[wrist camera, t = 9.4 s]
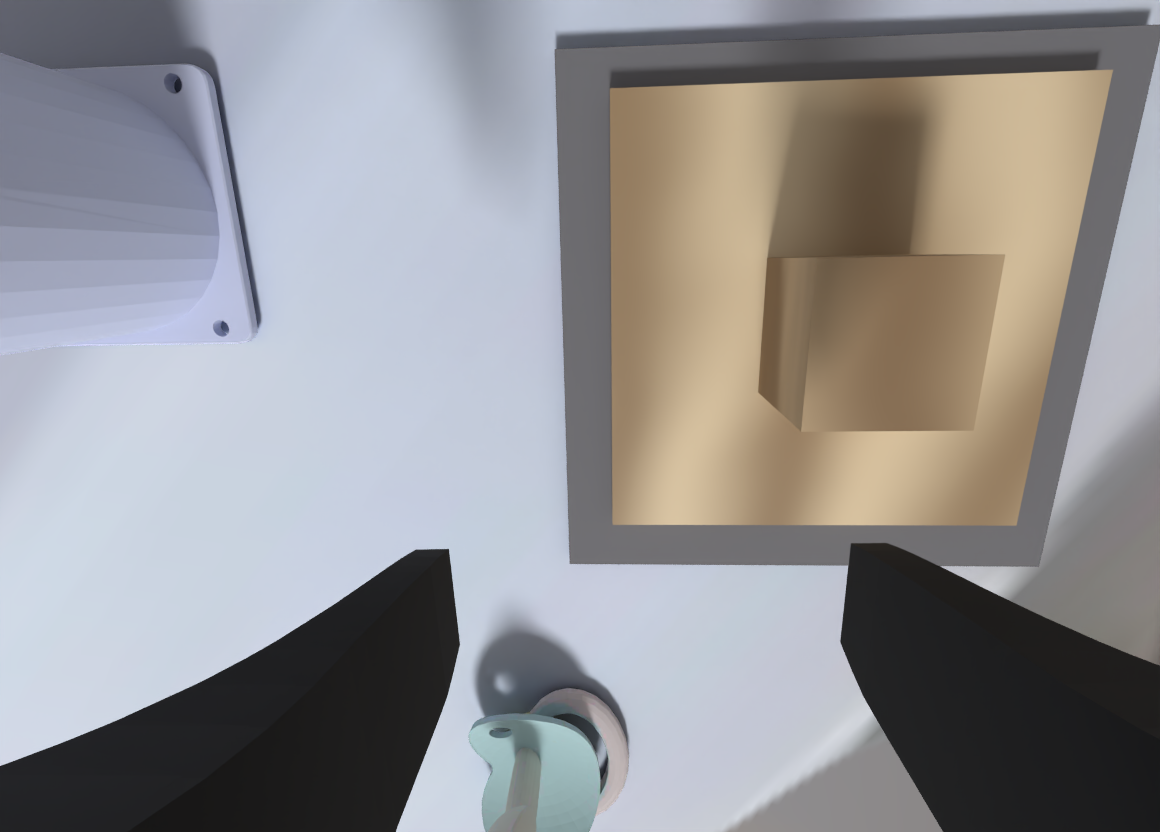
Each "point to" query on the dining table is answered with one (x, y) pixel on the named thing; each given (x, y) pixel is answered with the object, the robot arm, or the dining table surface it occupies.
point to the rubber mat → (922, 55)
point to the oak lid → (840, 293)
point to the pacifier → (549, 765)
